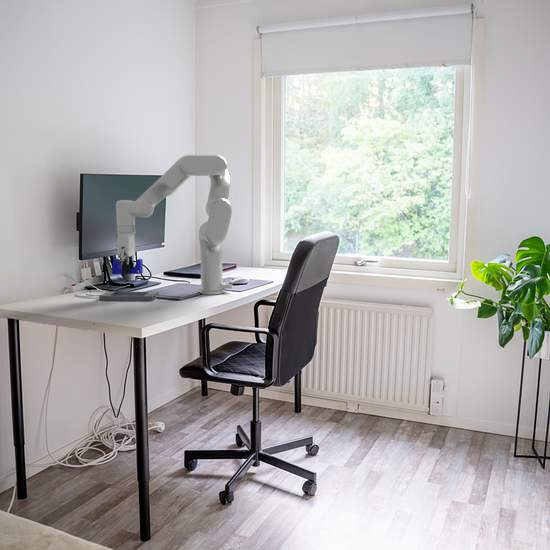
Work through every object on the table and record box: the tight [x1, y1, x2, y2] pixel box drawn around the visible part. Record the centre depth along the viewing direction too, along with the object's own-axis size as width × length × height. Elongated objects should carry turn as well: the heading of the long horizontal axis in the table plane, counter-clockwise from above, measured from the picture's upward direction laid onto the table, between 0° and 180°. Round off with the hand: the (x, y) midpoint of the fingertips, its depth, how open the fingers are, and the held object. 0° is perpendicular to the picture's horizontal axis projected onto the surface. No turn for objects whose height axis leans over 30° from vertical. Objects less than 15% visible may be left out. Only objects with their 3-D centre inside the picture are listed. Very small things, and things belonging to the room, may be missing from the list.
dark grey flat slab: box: [98, 291, 160, 302], centre depth 275 cm, size 23×10×2 cm, turn 85°
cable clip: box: [111, 258, 144, 275], centre depth 272 cm, size 12×4×6 cm, turn 81°
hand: (128, 272), depth 273 cm, fingers closed on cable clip, 4 cm apart
